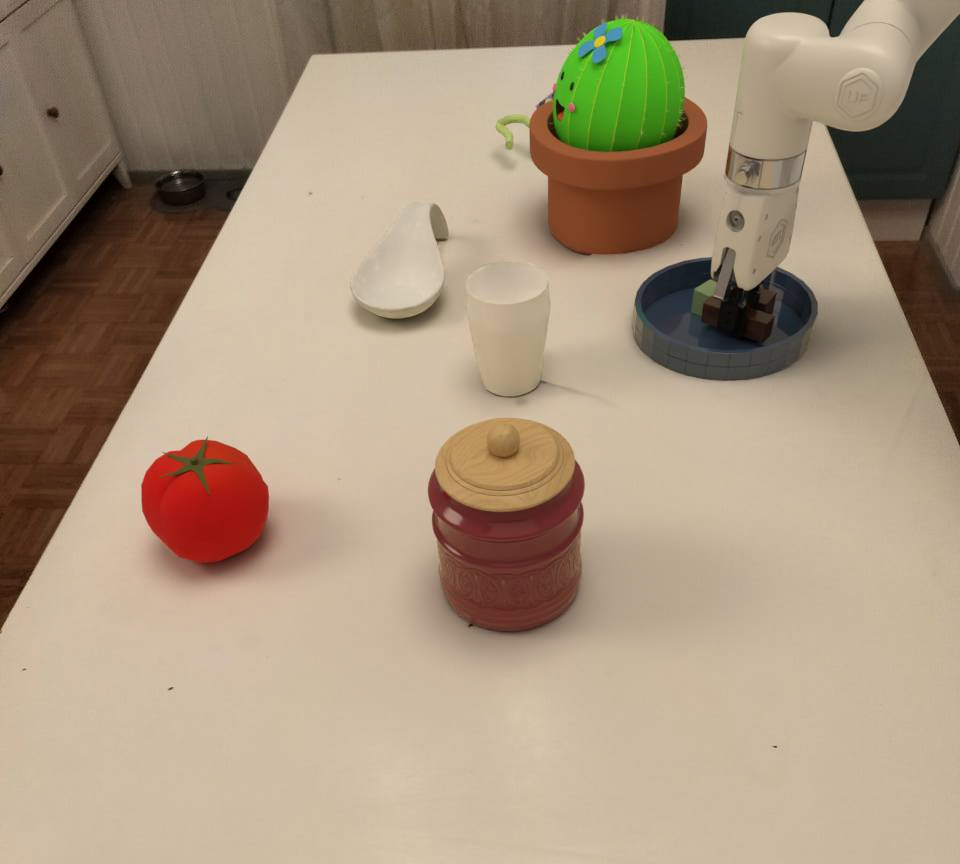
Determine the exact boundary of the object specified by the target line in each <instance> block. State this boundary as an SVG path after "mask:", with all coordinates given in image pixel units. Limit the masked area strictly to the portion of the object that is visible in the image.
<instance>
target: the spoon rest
mask: <svg viewBox="0 0 960 864" xmlns="http://www.w3.org/2000/svg"><path fill="white" fill-rule="evenodd" d="M449 236H450V231H449V227H448V223H447V220H446V217H445V215H444V213H443V210H442V209H441V207H440V206H439V205H438V204H437V203H435V202H429V203H419V202H416V201H411V202H409V203H407V204H406V205H405V206H404V207H403V209H402V210H401V212H400V213H399V214H398V216H397V217H396V219H395V220H394V222H393V223H392V225H390V227H389V229H388V230H387V231H386V232H385V234H384V235H383V236H382V237H381V238H380V239H379V241H378V242H377V243H376V244H375V245H374V246H373V248H372V249H371V250H370V251H369V252H368V254H367V255H366V256H365V257H364V259H363V260H362V261H361V262H360V264H359V265H358V266H357V268H356V270H355V271H354V273H353V275H352V277H351V279H350V286H349V287H350V291H351V295H352V297H353V298H354V299H355V301H356V302H357V303H358V304H359V305H360V306H361V307H362V308H364V309H365V310H367V311H368V312H370V313H372V314H374V315H376V316H379V317H382V318H386V319H405V318H410V317H414V316H416V315H419V314H421V313H424V312H425V311H427V310H428V309H429V308H430V307H432V306H433V304H434V303H435V302H436V301H437V299H438V298H439V297H440V295H441V293H442V290H443V288H444V286H445V282H446V281H445V280H446V270H445V263H444V260H443V257H442V253H441V251H440V247H439V246H438V242H437V240H444V239H447V238H448V237H449ZM436 239H437V240H436Z"/></svg>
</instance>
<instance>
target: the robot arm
mask: <svg viewBox="0 0 960 864" xmlns="http://www.w3.org/2000/svg"><path fill="white" fill-rule="evenodd" d="M959 15H960V0H863V1H862V3H861V4H860V5H859V6H858V7H857V9H856V10H855V11H854V12H853V14H852V15H851V17H850V18H849V20H847V22H846V23H845V25H844V27H843V29H842V30H841V32H840V34H839V35H838V36H834V37H832V36H831V35H830V30H829V28H828V25H827V24H826V23H825V22H824V21H823V20H822V19H820V18H819V17H817V16H814V15H811V14H807V13H802V12H791V11H789V12H787V11H786V12H777V13H771V14H768V15H765V16H763V17H760V18H759V19H757V20H756V21H754V23H752V25H751V26H749V29H748V30H747V33H746V35H745V37H744V42H743V47H742V53H741V59H740V60H741V61H740V68H739V75H738V81H737V87H736V88H737V89H736V95H735V102H734V109H733V114H732V115H733V116H732V123H731V129H730V136H729V143H728V149H727V156H726V162H725V168H724V177H723V178H724V181H725V183H726V184H727V186H726V190H725V193H724V197H723V201H722V205H721V210H720V214H719V218H718V223H717V227H716V232H715V237H714V243H713V248H712V255H711V257H712V263H711V277H712V279H713V280H714V281H716V280H718V281H717V284H716V288H715V291H714V294H713V298H714V299H717V300H720V301H721V304H720V310H719V316H718V322H717V330H718V331H720V332H723V333H725V334H728V335H731V336H734V337H737V338H741V337H742V336H743V335H744V331H745V326H746V320H747V315H748V310H749V308H752V309H756V310H758V306H759V301H760V295H761V294H760V293H757V292H761V290H762V288H763V286H764V281H765V278H766V277H767V276H768V275H769V274H770V273H771V272H772V271H773V270H774V269H775V268H776V267H779V266H780V265H781V263H782V262H784V260H785V259H786V258H787V256H788V255H789V252H790V248H791V243H792V238H793V232H794V227H795V221H796V214H797V208H798V201H799V200H798V199H799V191H800V183H801V181H802V175H803V171H804V166H805V162H806V156H807V152H808V148H809V147H808V146H809V142H810V138H811V133H812V129H813V123H814V122H816V123H818V124H821V125H825V126H828V127H831V128H833V129H836V130H837V129H838V130H842V131H847V132H855V133H856V132H865V131H870V130H873V129H876V128H878V127H880V126H882V125H883V124H884V123H886V122H887V121H889V120H890V119H891V118H892V117H893V116H894V115H895V114H896V112H897V111H898V109H899V108H900V106H901V105H902V103H903V101H904V99H905V97H906V95H907V91H908V89H909V86H910V82H911V80H912V77H913V74H914V70H915V67H916V65H917V62H918V61H919V60H920V59H921V57H922V56H923V55H924V54H925V53H926V51H927V50H928V49H929V48H930V47H931V46H932V45H933V43H934V42H935V41H936V40H937V39H938V38H939V37H940V36H941V34H943V32H944V31H945V30H947V28H948V27H949V26H950V25H951V24H952V23H953V21H954V20H955V19H956V18H958V16H959ZM732 284H734V285H737V286H738V287H737V286H734V287H733V288H732V287H731V285H732Z"/></svg>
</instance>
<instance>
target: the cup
mask: <svg viewBox="0 0 960 864" xmlns="http://www.w3.org/2000/svg"><path fill="white" fill-rule="evenodd" d="M549 281H550V280H549V275H548V274H547V272H546V271H545V270H544V269H543V268H542V267H541V266H538V265H536V264H533V263H531V262H528V261H522V260H499V261H494V262H490V263H487V264H485V265H482V266H480V267H478V268H475V270H473V271H472V272H470V274H469V275H468V277H466V280H465V314H466V318H467V324H468V328H469V331H470V337H471V339H472V340H471V341H472V344H473V348H474V354H475V357H476V360H477V366H478V370H479V373H480V378H481V383H482V385H483V387H484V388H485V390H487V391H488V392H489V393H491V394H494V395H497V396H502V397H518V396H523V395H526V394H528V393H529V392H532V391H533V390H534V389H535V388H537V386H539V384H540V381H541V376H542V369H543V363H544V355H545V348H546V342H547V336H548V328H549V321H550V316H551V315H550V314H551V296H550V282H549Z"/></svg>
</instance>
